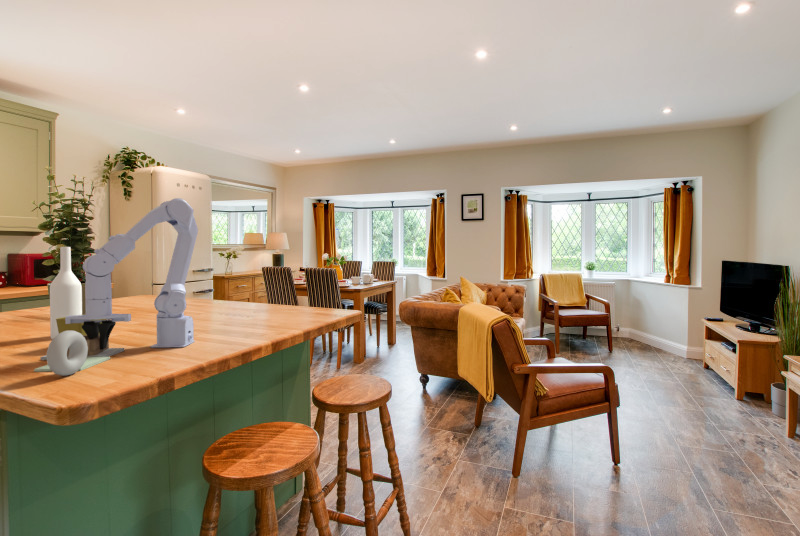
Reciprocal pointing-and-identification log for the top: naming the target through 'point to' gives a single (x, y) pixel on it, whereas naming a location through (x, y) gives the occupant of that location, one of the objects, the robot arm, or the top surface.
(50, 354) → the donut
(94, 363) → the pad
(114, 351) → the stand
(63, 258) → the bottle
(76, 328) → the flower pot
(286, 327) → the top surface
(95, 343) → the c link
